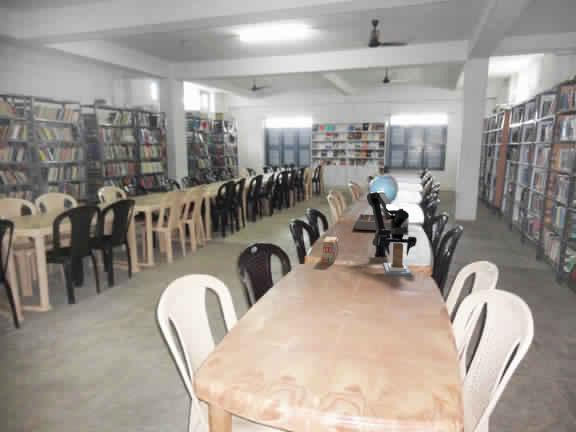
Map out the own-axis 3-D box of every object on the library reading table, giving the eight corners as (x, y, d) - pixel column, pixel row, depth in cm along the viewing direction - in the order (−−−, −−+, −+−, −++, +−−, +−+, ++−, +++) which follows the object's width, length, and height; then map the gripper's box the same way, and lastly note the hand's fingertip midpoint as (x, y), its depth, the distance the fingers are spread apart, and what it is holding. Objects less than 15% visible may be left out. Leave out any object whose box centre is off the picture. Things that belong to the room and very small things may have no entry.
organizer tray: (408, 233, 290) (409, 220, 288) (354, 231, 300) (354, 218, 298) (407, 225, 321) (408, 213, 319) (357, 223, 331) (358, 211, 329)
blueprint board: (383, 264, 213) (383, 259, 212) (406, 265, 211) (406, 260, 211) (386, 274, 195) (386, 270, 195) (411, 275, 194) (411, 271, 193)
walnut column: (392, 267, 205) (393, 242, 202) (400, 267, 204) (402, 243, 202) (393, 269, 200) (394, 245, 198) (402, 270, 200) (403, 245, 197)
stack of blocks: (328, 252, 237) (328, 233, 235) (338, 253, 236) (338, 233, 234) (322, 262, 217) (323, 241, 215) (334, 263, 215) (334, 241, 213)
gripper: (379, 220, 203) (380, 246, 194) (417, 221, 201) (419, 247, 192) (378, 232, 212) (378, 257, 203) (413, 233, 210) (416, 258, 201)
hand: (398, 255), depth 199 cm, fingers open, 9 cm apart
